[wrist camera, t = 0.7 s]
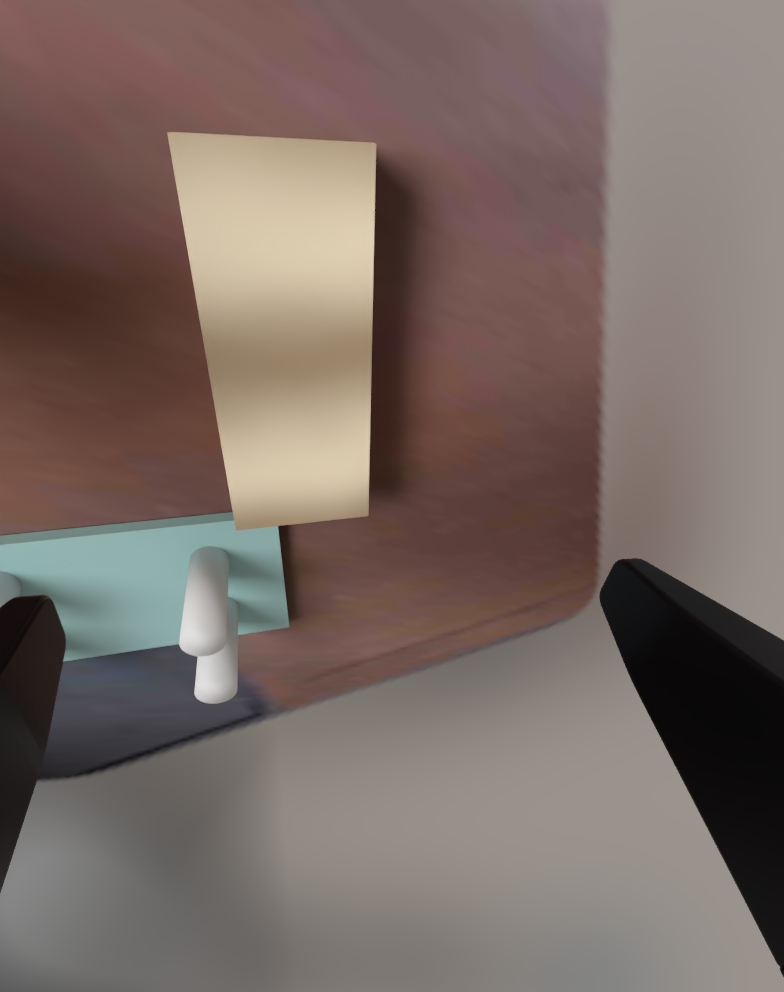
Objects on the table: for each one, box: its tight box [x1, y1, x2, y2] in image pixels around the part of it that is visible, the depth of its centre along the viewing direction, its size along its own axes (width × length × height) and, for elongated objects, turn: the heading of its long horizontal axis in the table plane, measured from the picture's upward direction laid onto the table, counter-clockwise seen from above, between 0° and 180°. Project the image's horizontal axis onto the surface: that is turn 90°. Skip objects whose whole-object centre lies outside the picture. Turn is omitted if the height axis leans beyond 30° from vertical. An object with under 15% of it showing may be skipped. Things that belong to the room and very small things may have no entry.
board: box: [167, 132, 376, 531], centre depth 17 cm, size 12×5×3 cm, turn 178°
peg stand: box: [0, 512, 289, 704], centre depth 20 cm, size 14×7×5 cm, turn 88°
